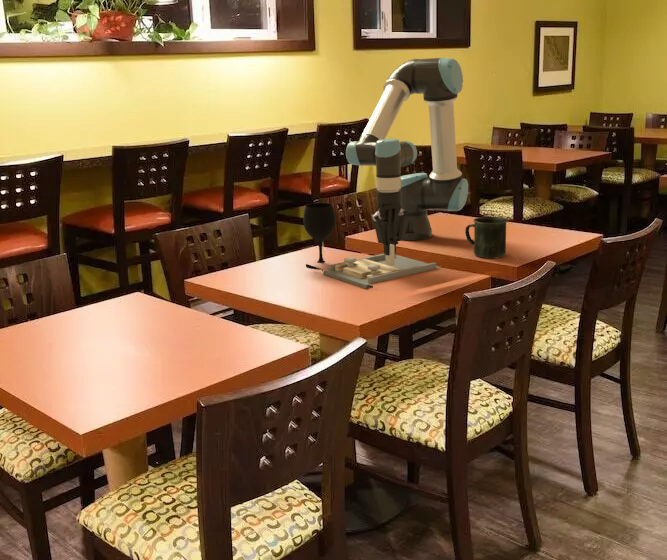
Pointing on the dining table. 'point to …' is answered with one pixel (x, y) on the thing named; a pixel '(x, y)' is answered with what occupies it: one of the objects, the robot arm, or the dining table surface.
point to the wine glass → (319, 224)
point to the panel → (364, 269)
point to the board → (364, 281)
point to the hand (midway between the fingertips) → (390, 264)
